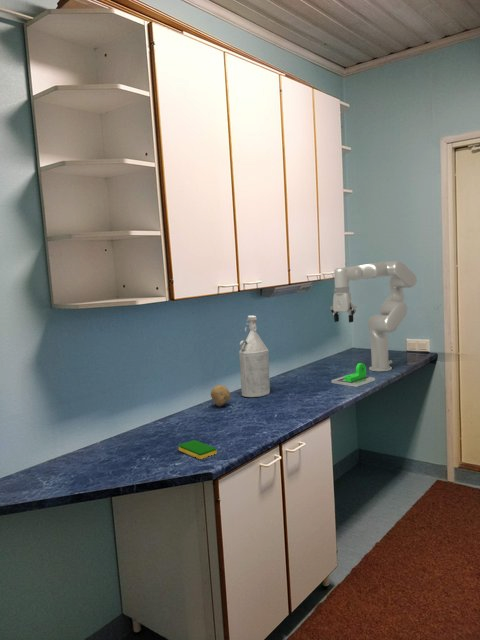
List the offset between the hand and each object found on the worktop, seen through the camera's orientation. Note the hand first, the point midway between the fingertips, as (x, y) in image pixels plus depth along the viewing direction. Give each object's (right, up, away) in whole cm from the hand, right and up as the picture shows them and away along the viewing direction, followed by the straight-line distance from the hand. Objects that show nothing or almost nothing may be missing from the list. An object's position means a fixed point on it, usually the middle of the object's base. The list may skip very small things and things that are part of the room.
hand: (343, 321), depth 278 cm
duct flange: (+3, -31, -11) cm, 33 cm away
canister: (-49, -37, -23) cm, 65 cm away
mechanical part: (+3, -30, -11) cm, 32 cm away
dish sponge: (-72, -46, -99) cm, 131 cm away
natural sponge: (-66, -39, -40) cm, 86 cm away
